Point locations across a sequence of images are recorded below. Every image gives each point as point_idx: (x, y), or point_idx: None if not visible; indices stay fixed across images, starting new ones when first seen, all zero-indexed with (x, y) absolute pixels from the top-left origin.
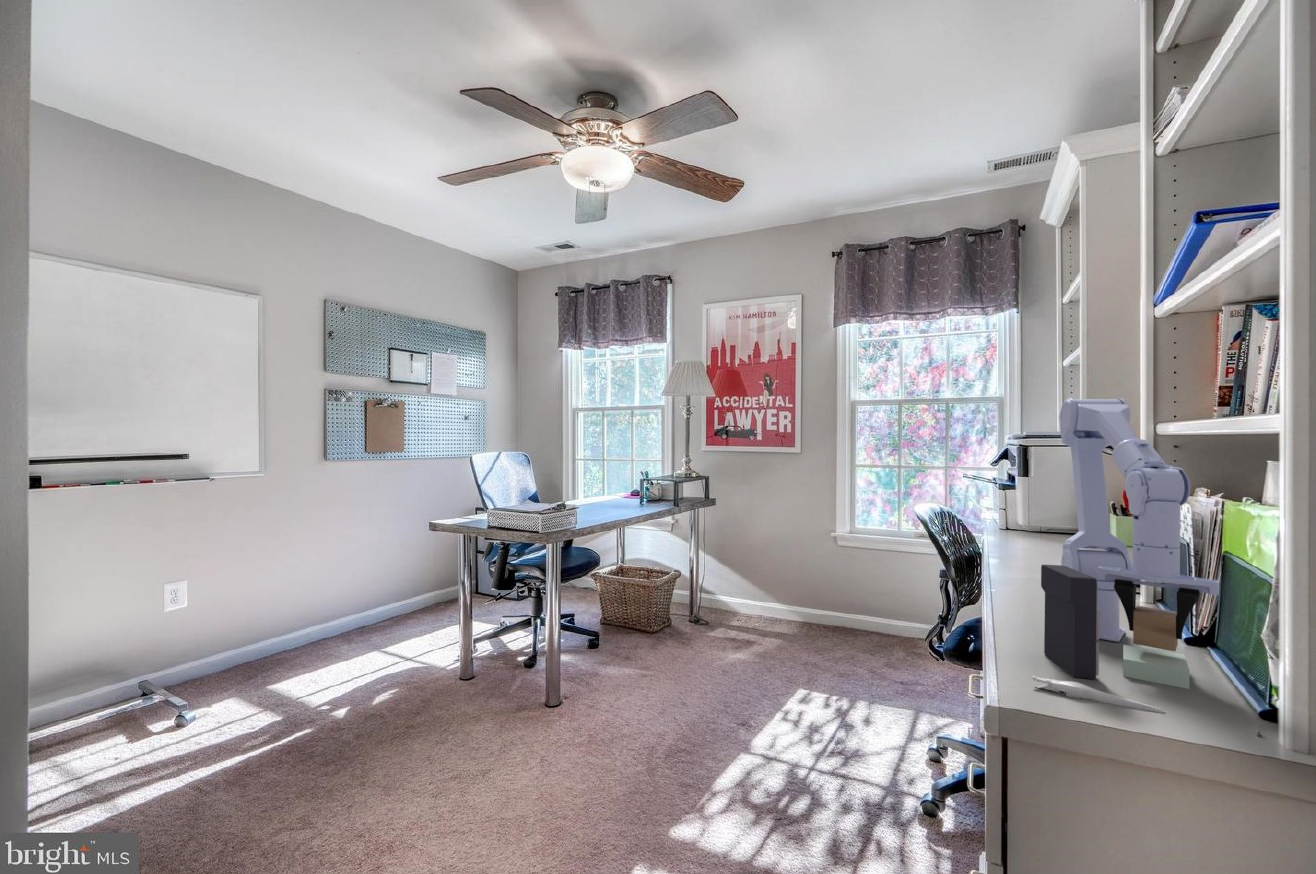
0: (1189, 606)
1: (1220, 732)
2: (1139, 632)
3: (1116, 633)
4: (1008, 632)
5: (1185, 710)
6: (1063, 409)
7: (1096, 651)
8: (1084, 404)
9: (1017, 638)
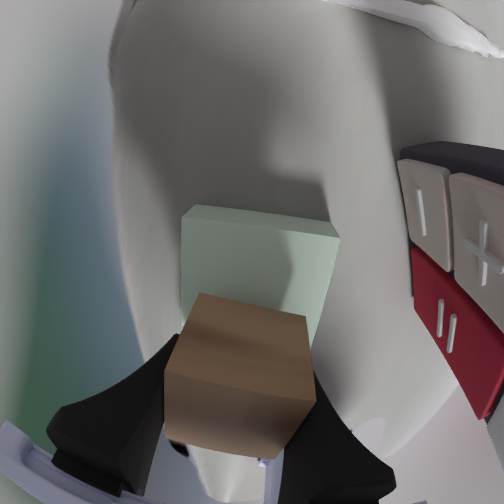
0: (96, 401)
1: None
2: (291, 338)
3: None
4: (447, 388)
5: (234, 28)
6: None
7: (434, 165)
8: None
9: (450, 367)
